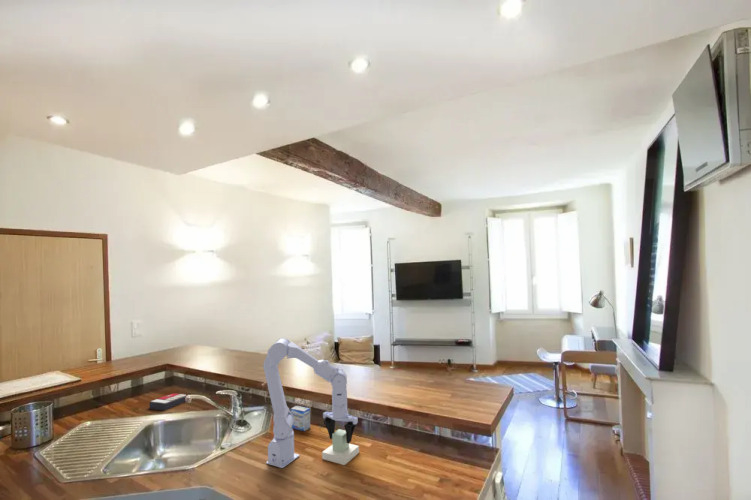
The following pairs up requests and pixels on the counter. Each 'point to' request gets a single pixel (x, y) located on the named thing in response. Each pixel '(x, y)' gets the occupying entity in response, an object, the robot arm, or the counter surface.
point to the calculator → (167, 402)
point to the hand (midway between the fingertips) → (340, 440)
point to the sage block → (339, 441)
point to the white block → (340, 454)
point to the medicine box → (301, 418)
